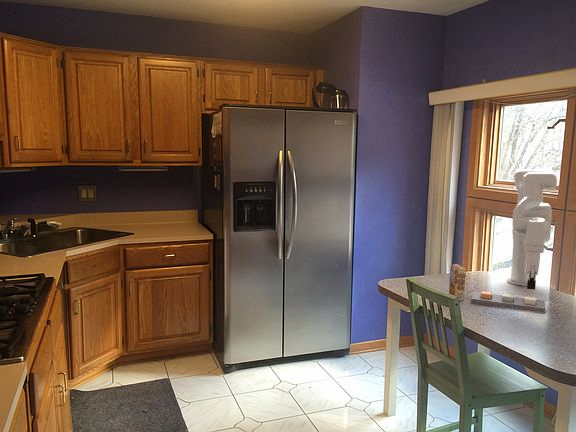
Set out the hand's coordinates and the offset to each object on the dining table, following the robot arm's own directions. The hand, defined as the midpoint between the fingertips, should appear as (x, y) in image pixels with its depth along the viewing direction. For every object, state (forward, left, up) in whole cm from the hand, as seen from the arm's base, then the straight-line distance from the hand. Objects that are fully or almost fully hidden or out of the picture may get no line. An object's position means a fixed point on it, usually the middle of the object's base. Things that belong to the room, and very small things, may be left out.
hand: (531, 288), depth 212 cm
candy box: (+19, -25, -9) cm, 32 cm away
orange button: (+10, -15, -7) cm, 19 cm away
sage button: (+5, -8, -7) cm, 11 cm away
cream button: (0, 0, -7) cm, 7 cm away
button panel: (+5, -8, -9) cm, 12 cm away
